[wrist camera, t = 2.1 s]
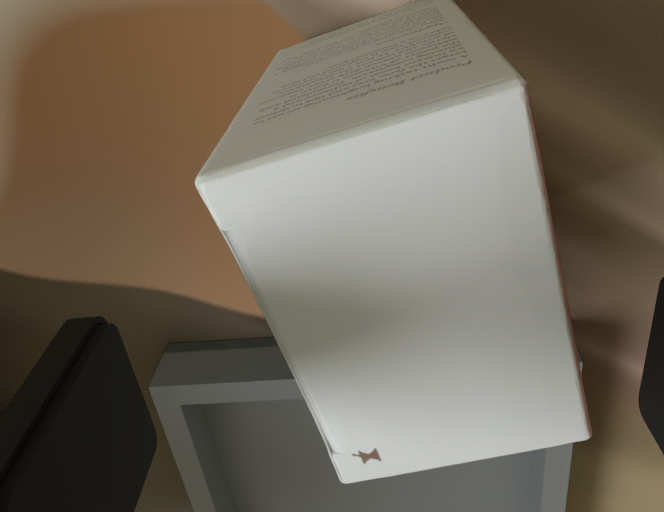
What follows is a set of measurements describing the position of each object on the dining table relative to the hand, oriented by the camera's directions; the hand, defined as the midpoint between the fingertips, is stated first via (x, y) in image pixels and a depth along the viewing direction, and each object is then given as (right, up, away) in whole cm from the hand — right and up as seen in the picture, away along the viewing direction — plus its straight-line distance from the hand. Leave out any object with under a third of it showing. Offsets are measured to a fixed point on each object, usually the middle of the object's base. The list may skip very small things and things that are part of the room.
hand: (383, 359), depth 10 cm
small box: (+1, +6, +10) cm, 11 cm away
